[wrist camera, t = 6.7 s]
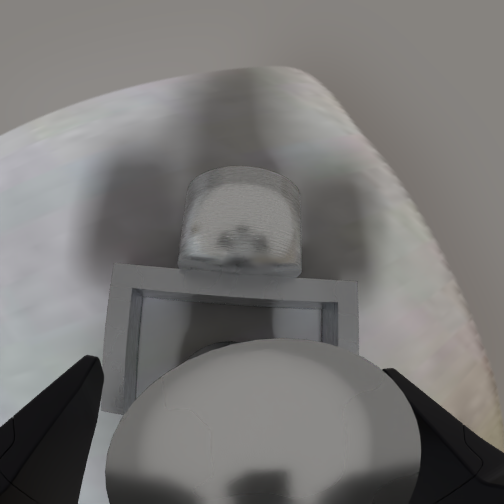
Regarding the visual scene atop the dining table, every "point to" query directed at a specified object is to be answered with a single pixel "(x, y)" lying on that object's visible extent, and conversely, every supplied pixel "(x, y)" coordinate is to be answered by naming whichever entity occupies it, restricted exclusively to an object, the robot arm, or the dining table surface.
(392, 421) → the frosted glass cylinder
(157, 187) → the dining table surface
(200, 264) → the duct saddle
